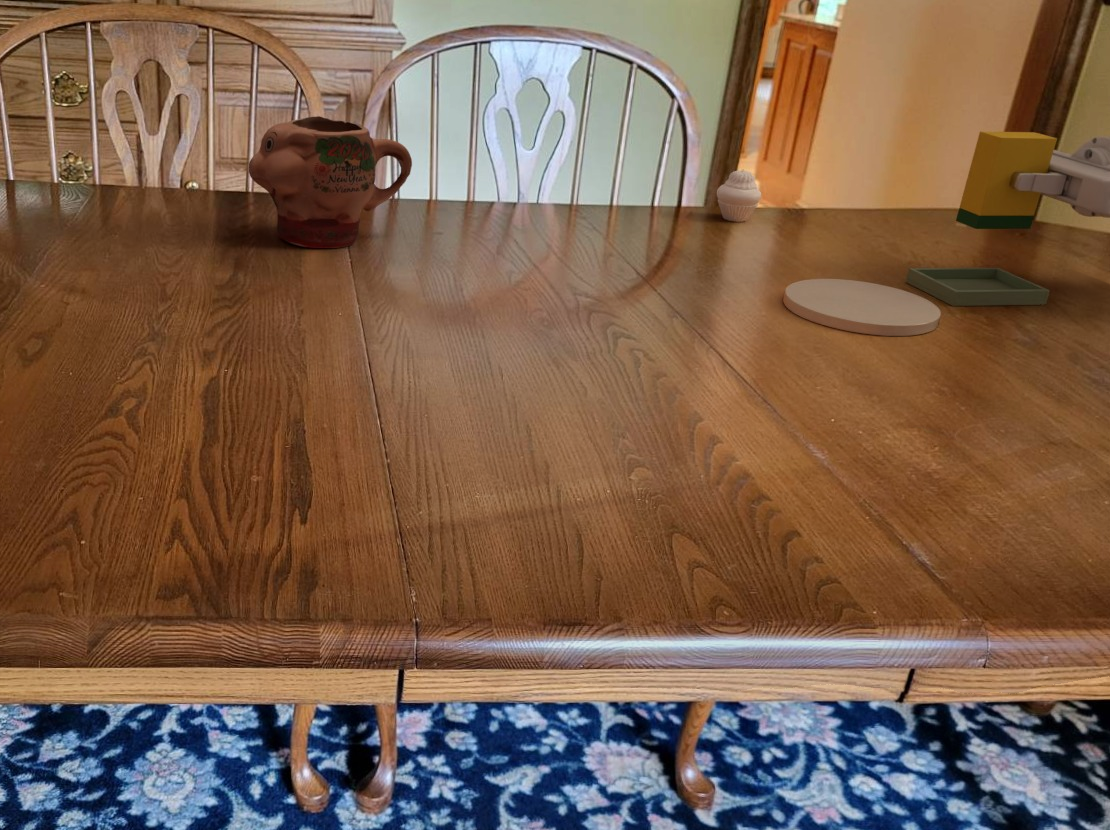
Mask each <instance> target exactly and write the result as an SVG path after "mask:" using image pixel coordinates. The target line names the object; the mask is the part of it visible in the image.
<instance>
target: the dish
mask: <svg viewBox="0 0 1110 830" xmlns="http://www.w3.org/2000/svg"><path fill="white" fill-rule="evenodd" d="M905 282H906V283H907V284H909V285H910V286H912V287H915V288H917V289H918V290H921V291H922V292H923V293H924V292H925V293H926V294H928V295H930V296H932V297H934V298H936V299H938V300H940V301H942V302H944V303H945V304H948V305H950V306H952V307H972V306H973V307H979V306H980V307H981V306H982V307H983V306H984V307H985V306H986V307H987V306H1039V305H1040V304H1041V305H1040V306H1046V305H1047V301H1048V298H1049V295H1050V292H1051V290H1050V289H1047V288H1045V287H1043V286H1041V285H1038V284H1037V283H1034V282H1032V281H1029V280H1028V279H1025V278H1022V277H1020V276H1018V275H1016V274H1013V273H1011V272H1009V271H1007V270H1004V269H1002V268H1000V267H922V268H921V267H919V268H918V267H917V268H915V267H914V268H913V267H909V268H908V271H907V275H906V281H905ZM1045 304H1046V305H1045Z"/></svg>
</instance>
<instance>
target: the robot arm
mask: <svg viewBox="0 0 1110 830" xmlns="http://www.w3.org/2000/svg"><path fill="white" fill-rule="evenodd" d="M1009 186H1010V187H1011V188H1013V189H1016V190H1019V191H1034V192H1039V193H1041V194H1040V196H1041V195H1042V196H1045V197H1047V198H1050V199H1053V200H1057V201H1060V202H1062V203H1065V204H1068V205H1070V207H1071V208H1072V210H1074V211H1075V212H1076V213H1077V214H1078V215H1081V216H1084V217H1090V218H1095V217H1096V218H1110V136H1097V137H1094V138H1091V139H1088V140H1087V141H1086V142H1084V143H1083V144H1082V145H1080V147H1078V148H1077V150H1076V151H1075V152H1073V153H1072V154H1071V153H1068V152H1063V151H1061V150H1057V149H1054V151H1053V154H1052V158H1051V161H1050V164H1049V168H1048V171H1047V174H1045V173H1029V172H1014V173H1013V174H1012V176H1011V181H1010V183H1009Z"/></svg>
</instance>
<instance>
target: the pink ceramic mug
mask: <svg viewBox="0 0 1110 830" xmlns="http://www.w3.org/2000/svg"><path fill="white" fill-rule="evenodd" d="M260 143H261V144H260V147H259V149H258V152H257V153H256V154H254V155H253V156H252V157H251V159H250V160H249V162H248V174H249V176H250V178H251V179H252V181H253V182H254V183H256V184H257V185H258V186H260V187H261V188H263V189H264V190H265V191H266V192H267V193H268V194H269V195H270V197H271V199H272V201H273V203H274V206H275V208H276V213H277V220H276V232H277V235H278V237H279V238H280V239H282V240H284V241H285V242H286V243H289V244H291V245H292V244H293V245H295V246H300V247H303V248H312V249H314V248H315V249H331V248H332V249H334V248H335V249H336V248H344V247H345V248H346V247H350V246H352V244H354V243H355V242H356V241H357V238H358V235H359V229H360V224H361V223H360V222H361V213H362V210H364V211H366V212H371V211H373V210H374V209H376V208H377V207H379V206H380V205H382V204H383V203H385V202H387V201H388V200H389V199H391V198H392V197H393V196H394V195H395V194H396V193H398V192H399V191H400V189H401V188H402V186H403V185H404V184H405V183H406V181H407V179H408V177H409V176H410V175H411V171H412V167H413V160H412V157H411V153H410V152H409V150H408V149H407V148H406V146H404V145H403V144H402V143H400V142H399V141H396V140H393V139H389V138H372V137H371V134H370V131H369V128H366V127H365V126H363V125H362V124H359V123H353V122H349V121H346V120H337V119H330V118H327V117H322V116H319V115H318V116H317V115H316V116H309V117H304V118H298V119H293V120H289V121H286V122H280V123H277V124H274V125H273V126H270V127H269V128H268V129H267V130H266V132H265V133H264V134H263V136H262V138H261V142H260ZM384 157H392V158H394V159H395V160H396V161H397V162H398V164H399V166H400V167H399V168H400V173H399V175H398V177H397V178H396V179H395V181H394V182H393V183H392V184H391V185H390V186H388V187H386V188H379V187H378V186H377V185H376V184H375V183H376V178H377V176H376V175H377V173H376V170H377V169H376V167H377V164H378V162H379V161H380V160H381V159H382V158H384Z"/></svg>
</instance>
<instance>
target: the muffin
mask: <svg viewBox="0 0 1110 830" xmlns="http://www.w3.org/2000/svg"><path fill="white" fill-rule="evenodd" d="M716 197H717V204H718V207H719V210H720V213H721V215H722V219H724V220H726V221H729V222H735V223H736V222H737V223H741V222H746V221H747V220H748V219H749V217H750V216H751V215H752V214H753V212H754V211H755V210H756V208H757V207H758V206H759V204H758V203H760V201H761V199H762V192H761V190H760V189H759V188H758V185H757V183H756V176H755V175H754V173H752V172H751V171H747V170H745V169H744V168H743V169H742V170H741V169H740V170H739V169H738V170H734V171H732V172H731V173H730V174H729V176H728V179H727V180H725V182H724V184H721V185H719V187H717V190H716Z"/></svg>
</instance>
